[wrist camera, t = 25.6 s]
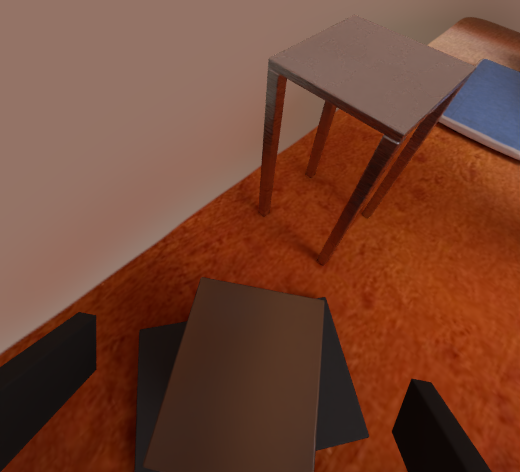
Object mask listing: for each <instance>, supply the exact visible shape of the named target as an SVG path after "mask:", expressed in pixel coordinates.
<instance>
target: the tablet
mask: <svg viewBox="0 0 520 472" xmlns="http://www.w3.org/2000/svg"><path fill="white" fill-rule="evenodd" d="M475 66H476V69H475V70H474V72H473V73H472V75H471V76H470V77H469V79H468V80H467V82H466V83H465V84H464V86H463V87H462V89H461V90H460V91H459V93H458V94H457V96H456V97H455V98H454V100H453V101H452V103H451V104H450V105H449V107H448V108H447V110H446V111H445V112H444V114H443V115H442V117H441V118H440V119H439V121H438V122H440V123H442V124H444V125H446V126H448V127H450V128H451V129H453V130H455V131H457V132H459V133H461V134H463V135H465V136H467V137H469V138H471V139H473V140H475V141H477V142H479V143H481V144H483V145H486V146H488V147H490V148H492V149H494V150H496V151H499V152H501V153H503V154H505V155H508V156H510V157H512V158H515V159H517V160H519V161H520V72H519V71H516V70H514V69H511V68H508V67H506V66H503V65H501V64H498V63H496V62H493V61H491V60H488V59H481V60H480V61H479V62H478V63H477V64H476V65H475Z"/></svg>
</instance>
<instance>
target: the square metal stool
mask: <svg viewBox="0 0 520 472" xmlns="http://www.w3.org/2000/svg"><path fill="white" fill-rule="evenodd" d="M475 69H476V66H474V65H471V64H469V63H467V62H464V61H462V60H460V59H457V58H455V57H453V56H450V55H448V54H446V53H443V52H441V51H439V50H436V49H434V48H431V47H429V46H427V45H424V44H422V43H420V42H417V41H415V40H412V39H410V38H408V37H406V36H403V35H401V34H398V33H396V32H394V31H392V30H389V29H387V28H385V27H382V26H380V25H378V24H375V23H373V22H371V21H368V20H366V19H363V18H361V17H359V16H356V15H353V16H352V17H349V18H347V19H345V20H343V21H341V22H339V23H337V24H335V25H333V26H331V27H329V28H327V29H325V30H323V31H321V32H320V33H318V34H316V35H314V36H312V37H310V38H308V39H306V40H304V41H302V42H300V43H298V44H296V45H294V46H292V47H290V48H288V49H286V50H284V51H282V52H280V53H278V54H276V55H274V56H272V57H271V58H269V62H268V77H267V92H266V107H265V122H264V136H263V137H264V138H263V152H262V166H261V181H260V196H259V211H258V212H259V213H260V214H261V215H262V216H263V217H265V216H266V215H267V214H269V213H270V205H271V197H272V190H273V182H274V174H275V166H276V159H277V151H278V143H279V136H280V128H281V120H282V112H283V104H284V97H285V89H286V82H287V79H289V80H291V81H292V82H294V83H296V84H298V85H299V86H301V87H303V88H304V89H306V90H308V91H310V92H311V93H313V94H315V95H317V96H318V97H320V98H322V99H324V100H325V104H324V107H323V111H322V115H321V118H320V122H319V126H318V129H317V133H316V137H315V140H314V144H313V148H312V151H311V155H310V159H309V162H308V166H307V170H306V173H305V175H307V176H308V177H310V178H312V177H313V176H314V175H315V174H316V171H317V167H318V164H319V161H320V158H321V155H322V152H323V149H324V145H325V142H326V139H327V136H328V133H329V130H330V127H331V123H332V120H333V117H334V114H335V111H336V108H339V109H341V110H343V111H344V112H346V113H348V114H350V115H351V116H353V117H355V118H356V119H358V120H360V121H362V122H363V123H365V124H367V125H369V126H370V127H372V128H374V129H376V130H377V131H379V132H381V133H382V134H384V135H383V137H382V139H381V141H380V143H379V145H378V147H377V148H376V150H375V152H374V154H373V156H372V158H371V160H370V161H369V163H368V165H367V167H366V169H365V171H364V173H363V174H362V176H361V178H360V180H359V182H358V184H357V186H356V188H355V189H354V191H353V193H352V195H351V197H350V199H349V201H348V202H347V204H346V206H345V208H344V210H343V212H342V214H341V216H340V217H339V219H338V221H337V223H336V225H335V227H334V229H333V230H332V232H331V234H330V236H329V238H328V240H327V242H326V243H325V245H324V247H323V249H322V251H321V253H320V255H319V257H318V258H317V261H318V262H319V263H320V264H321V265H322V266H324V265H325V264H326V263H327V262H328V261H329V259H330V257H331V256H332V254H333V253H334V251H335V249H336V248H337V246H338V245H339V243H340V241H341V240H342V238H343V237H344V235H345V234H346V232H347V230H348V229H349V227H350V226H351V224H352V222H353V221H354V219H355V218H356V216H357V214H358V213H359V211H360V210H361V208H362V207H363V205H364V203H365V202H366V200H367V199H368V197H369V195H370V194H371V192H372V191H373V189H374V187H375V186H376V184H377V183H378V181H379V180H380V178H381V176H382V175H383V173H384V172H385V170H386V168H387V167H388V165H389V164H390V162H391V161H392V159H393V157H394V156H395V154H396V153H397V151H398V149H399V148H400V146H401V145H402V143H403V141H404V140H405V138H406V136H407V135H408V134H409V133H410V132H411V131H412V130H414V129H415V128H416V127H417V126H418V125H419V126H418V127H417V129H416V130H415V132H414V133H413V135H412V137H411V138H410V140H409V141H408V143H407V144H406V146H405V147H404V149H403V150H402V152H401V153H400V155H399V157H398V158H397V160H396V161H395V163H394V164H393V166H392V167H391V169H390V170H389V172H388V174H387V175H386V177H385V178H384V180H383V181H382V183H381V184H380V186H379V187H378V189H377V190H376V192H375V194H374V195H373V197H372V198H371V200H370V201H369V203H368V204H367V206H366V207H365V209H364V210H363V212H362V215H363V216H365V217H366V218H369V217H370V216H371V215H372V214H373V212H374V211H375V209H376V208H377V207H378V205H379V204H380V202H381V201H382V200H383V198H384V197H385V195H386V194H387V193H388V191H389V190H390V188H391V187H392V186H393V184H394V183H395V181H396V180H397V179H398V177H399V176H400V174H401V173H402V172H403V170H404V169H405V167H406V166H407V164H408V163H409V162H410V160H411V159H412V157H413V156H414V155H415V153H416V152H417V150H418V149H419V148H420V146H421V145H422V143H423V142H424V141H425V139H426V138H427V136H428V135H429V134H430V132H431V131H432V129H433V128H434V127H435V125H436V124H437V122H438V121H439V119H440V118H441V117H442V115H443V114H444V112H445V111H446V110H447V108H448V107H449V105H450V104H451V103H452V101H453V100H454V98H455V97H456V96H457V94H458V93H459V91H460V90H461V89H462V87H463V86H464V84H465V83H466V82H467V80H468V79H469V77H470V76H471V75H472V73H473V72H474V70H475Z"/></svg>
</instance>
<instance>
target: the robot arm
mask: <svg viewBox="0 0 520 472" xmlns="http://www.w3.org/2000/svg"><path fill="white" fill-rule="evenodd" d="M95 370H96V315H91V314H86V313H81V312H78V313H77V314H75V315H74V316H73V317H71V318H70V319H68V320H67V321H65V322H64V323H63V324H61V325H60V326H58V327H57V328H55V329H54V330H53V331H51V332H50V333H48V334H47V335H46V336H44V337H43V338H41V339H40V340H38V341H37V342H36V343H34V344H33V345H31V346H30V347H28V348H27V349H26V350H24V351H23V352H21V353H20V354H18V355H17V356H16V357H14V358H13V359H11V360H10V361H8V362H7V363H6V364H4V365H3V366H1V367H0V472H1V471H2V470H3V469H4V468H5V466H6V465H7V464H8V463H9V462H10V461H11V460H12V459H13V458H14V457H15V456H16V455H17V454H18V453H19V452H20V450H21V449H22V448H23V447H24V446H25V445H26V444H27V443H28V442H29V441H30V440H31V439H32V438H33V437H34V435H35V434H36V433H37V432H38V431H39V430H40V429H41V428H42V427H43V426H44V425H45V424H46V423H47V422H48V421H49V419H50V418H51V417H52V416H53V415H54V414H55V413H56V412H57V411H58V410H59V409H60V408H61V407H62V406H63V405H64V403H65V402H66V401H67V400H68V399H69V398H70V397H71V396H72V395H73V394H74V393H75V392H76V391H77V390H78V389H79V387H80V386H81V385H82V384H83V383H84V382H85V381H86V380H87V379H88V378H89V377H90V376H91V375H92V374H93V373H94V371H95ZM392 433H393V436H394V438H395V441H396V443H397V446H398V448H399V451H400V453H401V456H402V458H403V461H404V463H405V466H406V468H407V471H408V472H491V470H490V469H489V467H488V466H487V464H486V463H485V461H484V460H483V458H482V457H481V455H480V454H479V452H478V451H477V449H476V448H475V446H474V445H473V443H472V442H471V441H470V439H469V438H468V436H467V435H466V433H465V432H464V430H463V429H462V427H461V426H460V424H459V423H458V421H457V420H456V418H455V417H454V415H453V414H452V412H451V411H450V409H449V408H448V406H447V405H446V404H445V402H444V401H443V399H442V398H441V396H440V395H439V393H438V392H437V390H436V389H435V387H434V386H433V384H432V383H431V382H426V381H421V380H416V379H411V382H410V384H409V387H408V390H407V392H406V395H405V398H404V400H403V403H402V406H401V408H400V411H399V414H398V416H397V419H396V422H395V424H394V427H393V430H392Z"/></svg>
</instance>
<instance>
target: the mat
mask: <svg viewBox="0 0 520 472" xmlns="http://www.w3.org/2000/svg"><path fill="white" fill-rule="evenodd" d="M317 299H319V300H323V301H324V318H323V334H322V350H321V367H320V383H319V400H318V416H317V433H316V449H315V451H317V450H321V449H325V448H329V447H333V446H336V445H340V444H344V443H348V442H352V441H356V440H360V439H364V438H368V437H369V434H368V431H367V428H366V424H365V421H364V418H363V415H362V412H361V409H360V405H359V402H358V399H357V396H356V393H355V389H354V386H353V383H352V380H351V377H350V374H349V370H348V367H347V364H346V361H345V358H344V354H343V351H342V348H341V345H340V342H339V339H338V335H337V332H336V329H335V326H334V323H333V319H332V316H331V313H330V310H329V307H328V304H327V300H326V298H325V297H322V298H317ZM186 324H187V321H186V322H181V323H175V324H169V325H164V326H158V327H152V328H147V329H141V330H140V331H139V357H138V387H137V417H136V447H135V472H161V471H156V470H152V469H148V468H144V467H143V462H144V458H145V455H146V452H147V449H148V446H149V442H150V439H151V436H152V433H153V430H154V426H155V423H156V420H157V417H158V414H159V410H160V407H161V404H162V401H163V398H164V394H165V391H166V388H167V385H168V382H169V378H170V375H171V372H172V369H173V366H174V362H175V359H176V356H177V353H178V350H179V346H180V343H181V340H182V337H183V334H184V330H185V327H186Z"/></svg>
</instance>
